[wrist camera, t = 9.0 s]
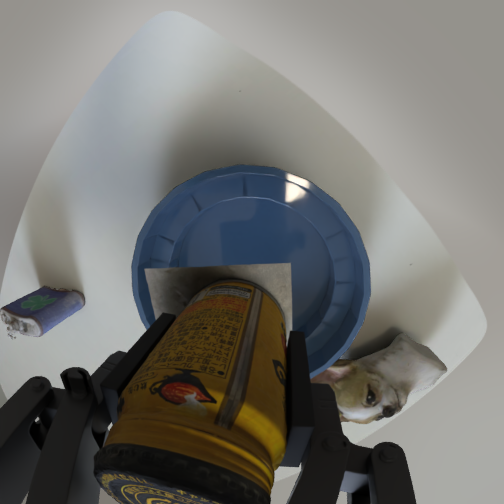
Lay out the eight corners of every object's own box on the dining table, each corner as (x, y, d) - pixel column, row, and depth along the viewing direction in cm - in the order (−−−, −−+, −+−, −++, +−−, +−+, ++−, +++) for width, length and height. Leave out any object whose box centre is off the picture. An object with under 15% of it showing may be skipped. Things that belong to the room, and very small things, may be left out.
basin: (163, 165, 25) (133, 161, 19) (365, 184, 24) (389, 184, 18) (162, 341, 30) (140, 370, 24) (331, 363, 28) (339, 398, 22)
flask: (83, 290, 30) (25, 327, 19) (88, 311, 30) (34, 352, 20) (40, 284, 30) (-13, 312, 20) (44, 303, 31) (-6, 334, 21)
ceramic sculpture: (458, 408, 19) (331, 465, 23) (433, 363, 27) (328, 413, 31) (445, 340, 17) (285, 416, 21) (411, 298, 26) (290, 361, 30)
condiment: (292, 370, 17) (292, 548, 5) (168, 367, 18) (86, 505, 6) (290, 261, 15) (308, 460, 3) (146, 266, 16) (-11, 379, 4)
